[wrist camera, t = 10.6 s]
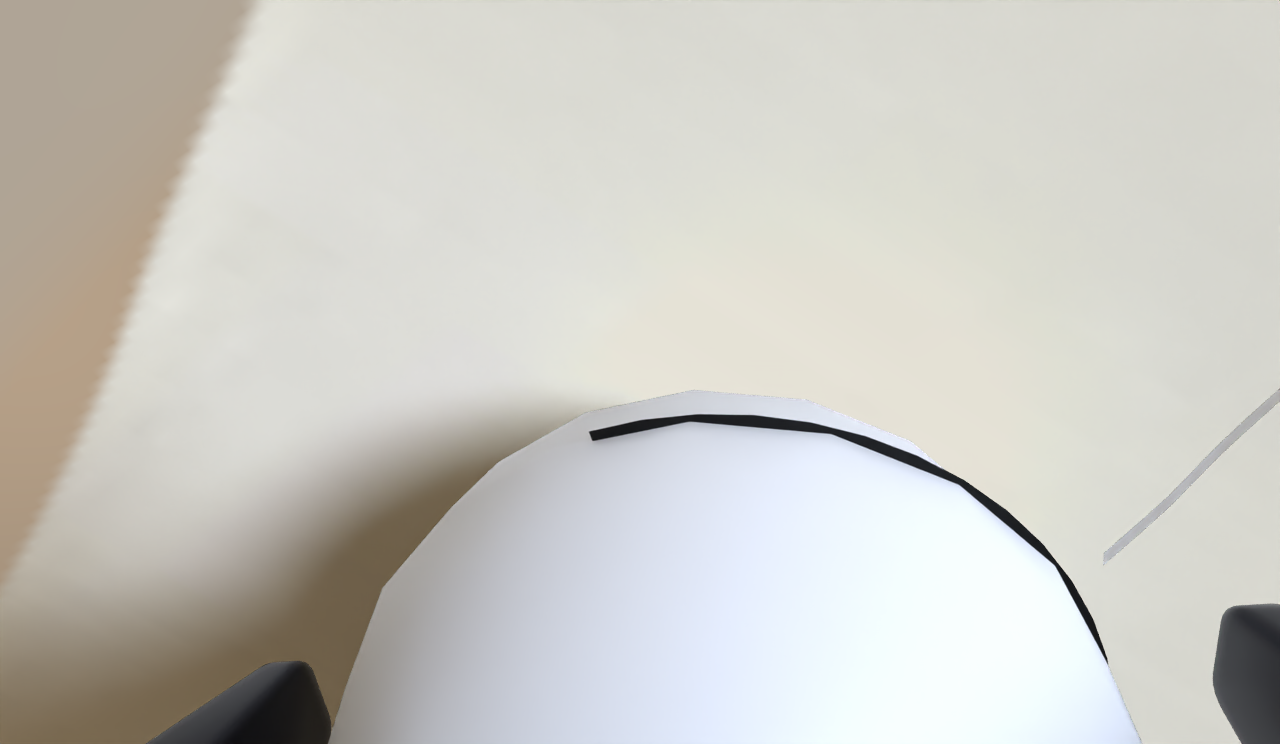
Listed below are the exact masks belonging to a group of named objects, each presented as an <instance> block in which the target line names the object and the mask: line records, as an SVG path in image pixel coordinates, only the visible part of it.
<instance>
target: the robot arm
mask: <svg viewBox="0 0 1280 744" xmlns="http://www.w3.org/2000/svg"><path fill="white" fill-rule="evenodd" d="M1213 686H1214V690H1215V694H1216V697H1217V699H1218V702H1219V704H1220V706H1221V708H1222V710H1223V712H1224V713H1225V715H1226V717H1227V719H1228V721H1229V722H1230V724H1231V726H1232V728H1233V729H1234V731H1235V733H1236V735H1237V736H1238V738H1239V740H1240V742H1241V743H1242V744H1280V605H1279V604H1257V605H1240V606H1233V607H1231V608H1229V609H1227V610H1226V611H1225V613H1224V614H1223V616H1222V620H1221V624H1220V631H1219V638H1218V644H1217V651H1216V657H1215V664H1214V670H1213ZM330 736H331V720H330V716H329V713H328V711H327V708H326V705H325V702H324V700H323V697H322V694H321V691H320V688H319V686H318V683H317V680H316V677H315V675H314V672H313V670H312V668H311V667H310V666H309V665H308V664H307V663H306V662H302V661H288V662H273V663H269V664H266V665H264V666H262V667H260V668H259V669H257V670H256V671H254V672H253V673H251V674H250V675H248V676H247V677H245V678H244V679H242V680H241V681H239V682H238V683H236V684H235V685H233V686H232V687H230V688H229V689H227V690H226V691H224V692H223V693H221V694H220V695H218V696H217V697H215V698H214V699H212V700H211V701H209V702H208V703H206V704H205V705H203V706H202V707H200V708H199V709H197V710H196V711H194V712H193V713H191V714H190V715H188V716H187V717H185V718H184V719H182V720H181V721H179V722H178V723H176V724H175V725H173V726H172V727H170V728H169V729H167V730H166V731H164V732H163V733H161V734H160V735H158V736H157V737H155V738H154V739H152V740H151V741H149V742H148V743H146V744H328V742H329V739H330Z"/></svg>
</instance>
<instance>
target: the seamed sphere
mask: <svg viewBox="0 0 1280 744" xmlns="http://www.w3.org/2000/svg"><path fill="white" fill-rule="evenodd" d="M1278 402H1280V389H1279V390H1277V391H1276V392H1275V393H1274V394H1273V395H1272V396H1271V397H1270V398H1268V399H1267V400H1266V401H1265V402H1264V403H1263V404H1262V405H1261V406H1260V407H1258V408H1257V409H1256V410H1255V411H1254V412H1253V413H1252V414H1251V415H1250V416H1248V417H1247V418H1246V419H1245V420H1244V421H1243V422H1242V423H1241V424H1240V425H1239V426H1238V427H1237V428H1236V429H1234V430H1233V431H1232V432H1231V433H1230V434H1229V435H1228V436H1227V437H1226V438H1225V439H1224V440H1223V441H1222V442H1221V443H1220V444H1219V445H1218V446H1217V447H1216V448H1215V449H1214V450H1213V451H1212V452H1211V453H1210V454H1209V455H1208V456H1207V457H1206V458H1205V459H1204V460H1203V461H1202V462H1201V463H1200V464H1199V465H1198V466H1197V467H1196V468H1195V469H1194V470H1193V471H1192V472H1191V473H1190V474H1189V475H1188V476H1187V478H1186V479H1185V480H1184V481H1183V482H1182V483H1181V484H1180V485H1179V486H1178V487H1177V488H1176V489H1175V490H1174V491H1173V492H1172V493H1171V494H1170V495H1169V496H1168V497H1167V498H1166V499H1164V500H1163V501H1162V502H1161V503H1160V504H1159V505H1158V506H1157V507H1156V508H1155V509H1153V510H1152V511H1151V512H1150V513H1149V514H1148V515H1147V516H1146V517H1145V518H1143V519H1142V520H1141V521H1140V522H1139V523H1138V524H1137V525H1135V526H1134V527H1133V528H1132V529H1131V530H1130V531H1129V532H1127V533H1126V534H1125V535H1124V536H1123V537H1122V538H1121V539H1119V540H1118V541H1117V542H1116V543H1115V544H1114V545H1113V546H1112V547H1110V548H1109V549H1108V550H1107V551H1106V552H1105V553H1104V563H1103V565H1104V564H1106V563H1107V562H1108V561H1109V560H1110V559H1111V558H1112V557H1114V556H1115V555H1116V554H1117V553H1118V552H1119V551H1121V550H1122V549H1123V548H1124V547H1125V546H1126V545H1127V544H1129V543H1130V542H1131V541H1132V540H1133V539H1134V538H1135V537H1137V536H1138V535H1139V534H1140V533H1141V532H1142V531H1143V530H1145V529H1146V528H1147V527H1148V526H1149V525H1150V524H1151V523H1152V522H1154V521H1155V520H1156V519H1157V518H1158V517H1159V516H1160V515H1161V514H1162V513H1164V512H1165V511H1166V510H1167V509H1168V508H1169V507H1170V506H1171V505H1172V504H1173V503H1174V502H1175V501H1176V500H1177V499H1178V498H1179V497H1180V496H1181V495H1182V494H1183V493H1184V492H1185V491H1186V490H1187V489H1188V488H1189V487H1190V486H1191V485H1192V484H1193V483H1194V482H1195V481H1196V479H1197V478H1198V477H1199V476H1200V475H1201V474H1202V473H1203V472H1204V471H1205V470H1206V469H1207V468H1208V467H1209V466H1210V465H1211V464H1212V463H1213V462H1214V461H1215V460H1216V459H1217V458H1218V457H1219V456H1220V455H1221V454H1222V453H1223V452H1224V451H1226V450H1227V449H1228V448H1229V447H1230V446H1231V445H1232V444H1233V443H1234V442H1235V441H1236V440H1237V439H1238V438H1239V437H1241V436H1242V435H1243V434H1244V433H1245V432H1246V431H1247V430H1248V429H1249V428H1250V427H1252V426H1253V425H1254V424H1255V423H1256V422H1257V421H1258V420H1259V419H1260V418H1262V417H1263V416H1264V415H1265V414H1266V413H1267V412H1268V411H1269V410H1271V409H1272V408H1273V407H1274V406H1275V405H1276V404H1277V403H1278ZM328 744H1142V742H1141V739H1140V737H1139V735H1138V733H1137V730H1136V728H1135V726H1134V723H1133V721H1132V719H1131V717H1130V714H1129V712H1128V710H1127V708H1126V705H1125V703H1124V701H1123V698H1122V696H1121V694H1120V692H1119V689H1118V687H1117V685H1116V683H1115V680H1114V678H1113V676H1112V673H1111V671H1110V669H1109V666H1108V661H1107V656H1106V654H1105V651H1104V648H1103V645H1102V643H1101V640H1100V637H1099V634H1098V631H1097V629H1096V626H1095V623H1094V620H1093V618H1092V616H1091V614H1090V613H1089V611H1088V609H1087V607H1086V606H1085V604H1084V602H1083V600H1082V598H1081V597H1080V595H1079V593H1078V591H1077V589H1076V588H1075V586H1074V584H1073V582H1072V581H1071V579H1070V578H1069V577H1068V575H1067V574H1066V573H1065V572H1064V570H1063V569H1062V568H1061V567H1060V565H1059V564H1058V563H1057V562H1056V560H1055V559H1054V558H1053V556H1052V555H1051V554H1050V553H1049V551H1048V550H1047V549H1046V548H1045V546H1044V545H1043V544H1042V543H1041V542H1040V541H1039V540H1038V539H1037V538H1036V537H1035V536H1034V535H1033V534H1031V533H1030V532H1029V531H1028V530H1027V529H1026V528H1025V527H1024V526H1023V525H1022V524H1021V523H1020V522H1019V521H1018V520H1017V519H1015V518H1014V517H1013V516H1012V515H1011V514H1010V513H1009V512H1008V511H1007V510H1006V509H1004V508H1003V507H1001V506H1000V505H999V504H997V503H996V502H994V501H993V500H991V499H990V498H989V497H987V496H986V495H984V494H983V493H982V492H980V491H979V490H977V489H976V488H974V487H973V486H972V485H970V484H969V483H967V482H966V481H965V480H963V479H961V478H959V477H957V476H955V475H953V474H951V473H949V472H947V471H946V470H944V469H943V468H942V467H941V466H940V465H938V464H937V463H936V462H935V461H934V460H932V459H931V458H930V457H929V456H928V455H926V454H925V453H924V452H923V451H922V450H921V449H919V448H918V447H917V446H916V445H915V444H913V443H912V442H911V441H909V440H907V439H904V438H902V437H899V436H897V435H894V434H892V433H889V432H887V431H884V430H882V429H879V428H877V427H874V426H872V425H869V424H867V423H864V422H862V421H859V420H857V419H854V418H852V417H849V416H847V415H844V414H842V413H839V412H837V411H834V410H832V409H829V408H827V407H824V406H822V405H819V404H817V403H814V402H812V401H809V400H804V399H793V398H781V397H769V396H758V395H746V394H734V393H722V392H711V391H699V390H691V391H686V392H681V393H676V394H672V395H667V396H662V397H657V398H653V399H648V400H643V401H638V402H633V403H629V404H624V405H619V406H614V407H609V408H605V409H600V410H595V411H590V412H586V413H584V414H582V415H580V416H578V417H577V418H575V419H573V420H571V421H570V422H568V423H566V424H564V425H563V426H561V427H559V428H557V429H556V430H554V431H552V432H550V433H548V434H547V435H545V436H543V437H541V438H540V439H538V440H536V441H534V442H533V443H531V444H529V445H527V446H526V447H524V448H522V449H520V450H519V451H517V452H515V453H513V454H511V455H510V456H508V457H506V458H504V459H503V460H501V461H499V462H498V463H497V464H496V465H495V466H494V467H493V468H492V469H490V470H489V471H488V472H487V473H486V474H485V475H484V476H483V477H482V478H481V479H480V480H479V481H478V482H477V483H476V484H475V485H474V486H473V487H472V488H471V489H470V490H469V491H468V492H467V493H466V494H465V495H464V496H463V497H462V498H460V499H459V500H458V501H457V502H456V503H455V504H454V505H453V506H452V507H451V508H450V509H449V511H448V512H447V513H446V514H445V515H444V516H443V518H442V519H441V520H440V521H439V522H438V523H437V525H436V526H435V527H434V528H433V529H432V530H431V532H430V533H429V534H428V535H427V536H426V538H425V539H424V540H423V541H422V542H421V543H420V545H419V546H418V547H417V548H416V549H415V550H414V552H413V553H412V554H411V555H410V556H409V557H408V559H407V560H406V561H405V562H404V563H403V564H402V566H401V567H400V568H399V569H398V570H397V572H396V573H395V574H394V575H393V576H392V577H391V579H390V580H389V581H388V582H387V583H386V584H385V586H384V587H383V588H382V591H381V594H380V596H379V599H378V602H377V604H376V607H375V610H374V612H373V615H372V618H371V620H370V623H369V626H368V629H367V631H366V634H365V637H364V639H363V642H362V645H361V647H360V650H359V653H358V655H357V658H356V661H355V663H354V666H353V669H352V672H351V674H350V677H349V680H348V682H347V685H346V688H345V691H344V694H343V697H342V700H341V704H340V707H339V710H338V713H337V716H336V720H335V723H334V726H333V729H332V732H331V736H330V739H329V742H328Z"/></svg>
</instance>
